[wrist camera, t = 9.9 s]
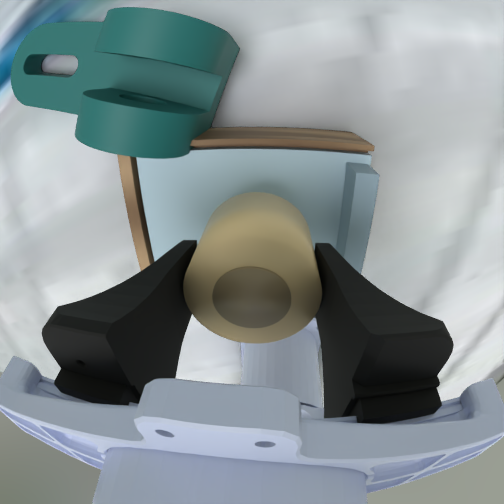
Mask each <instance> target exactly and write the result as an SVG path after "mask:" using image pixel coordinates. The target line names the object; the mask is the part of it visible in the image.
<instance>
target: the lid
mask: <svg viewBox="0 0 504 504" xmlns="http://www.w3.org/2000/svg"><path fill="white" fill-rule="evenodd" d="M371 157H372V156H371V155H370V154H369V153H365V152H355V151H345V150H332V149H318V148H299V147H263V146H238V147H202V148H192V149H191V150H190V152H189V154H187V155H185V156H182V157H178V158H169V159H152V158H139V157H136V158H137V166H138V173H139V180H140V186H141V193H142V199H143V205H144V210H145V216H146V221H147V227H148V232H149V237H150V242H151V247H152V252H153V256H154V261H156V260H157V259H159V258H160V257H161V256H163V255H164V254H165V253H166V252H168V251H169V250H170V249H172V248H173V247H174V246H175V245H177V244H178V243H179V242H181V241H182V240H197V245H198V243H199V241H200V238H201V236H202V234H203V231H204V229H205V227H206V225H207V222H208V220H209V218H210V216H211V215H212V213H213V212H214V211H215V209H216V208H217V207H218V206H219V205H221V204H222V203H223V202H224V201H226V200H228V199H229V198H232V197H234V196H236V195H239V194H243V193H249V192H264V193H269V194H274V195H276V196H279V197H281V198H283V199H285V200H287V201H289V202H290V203H291V204H293V205H294V206H295V207H296V208H297V209H298V210H299V211H300V212H301V213H302V215H303V216H304V218H305V220H306V222H307V224H308V227H309V231H310V235H311V239H312V244H313V248H314V250H315V243H330V244H331V245H332V246H333V247H334V248H335V249H336V250H337V251H338V252H339V254H340V255H341V256H342V257H343V258H344V259H345V260H346V261H347V262H348V263H349V264H350V265H351V266H352V267H353V268H354V269H355V270H357V271H358V272H359V273H360V274H361V271H362V267H363V262H364V258H365V253H366V249H367V244H368V239H369V234H370V229H371V224H372V218H373V213H374V207H375V201H376V195H377V188H378V182H379V174H378V173H377V172H376V171H375V170H373V169H372V168H371V167H370V165H371Z"/></svg>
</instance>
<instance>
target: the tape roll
mask: <svg viewBox="0 0 504 504" xmlns="http://www.w3.org/2000/svg"><path fill="white" fill-rule="evenodd" d="M183 291H184V297H185V301H186V303H187V306H188V308H189V309H190V311H191V313H192V314H193V315H194V317H195V318H196V319H197V320H198V321H199V322H200V323H201V324H202V325H203V326H205V327H206V328H207V329H209V330H210V331H212V332H213V333H215V334H217V335H219V336H221V337H224V338H227V339H230V340H233V341H237V342H242V343H255V344H260V343H269V342H275V341H279V340H282V339H285V338H288V337H290V336H292V335H294V334H296V333H297V332H299V331H300V330H302V329H303V328H304V327H306V326H307V325H308V324H309V323H310V322H311V320H312V319H313V318H314V316H315V315H316V313H317V311H318V309H319V307H320V303H321V299H322V286H321V281H320V276H319V271H318V267H317V262H316V257H315V253H314V248H313V244H312V239H311V235H310V231H309V227H308V224H307V222H306V220H305V218H304V216H303V215H302V213H301V212H300V211H299V210H298V209H297V208H296V207H295V206H294V205H293V204H291V203H290V202H289V201H287V200H285V199H283V198H281V197H279V196H276V195H274V194H269V193H264V192H249V193H243V194H239V195H236V196H234V197H232V198H229V199H228V200H226V201H224V202H223V203H222V204H221V205H219V206H218V207H217V208H216V209H215V211H214V212H213V213H212V215H211V216H210V218H209V220H208V222H207V225H206V227H205V229H204V231H203V234H202V236H201V238H200V241H199V243H198V245H197V247H196V250H195V252H194V254H193V257H192V259H191V262H190V264H189V266H188V269H187V271H186V274H185V277H184V283H183Z"/></svg>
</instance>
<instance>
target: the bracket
mask: <svg viewBox="0 0 504 504" xmlns="http://www.w3.org/2000/svg"><path fill="white" fill-rule="evenodd" d="M239 49H240V48H239V47H238V45H237V44H236V42H235V41H234V39H233V38H232V37H231V35H230V34H229V33H228V32H226V31H225V30H223V29H221V28H219V27H217V26H215V25H213V24H210V23H208V22H205V21H202V20H199V19H196V18H193V17H190V16H186V15H183V14H179V13H174V12H169V11H164V10H158V9H150V8H138V7H123V8H114V9H111V10H109V11H108V12H107V15H106V18H105V20H104V22H60V23H47V24H43V25H40V26H38V27H37V28H35V29H34V30H32V31H31V32H30V33H29V34H28V35H27V36H26V37H25V38H24V40H23V41H22V43H21V44H20V46H19V48H18V50H17V52H16V54H15V57H14V60H13V64H12V69H11V85H12V89H13V92H14V95H15V96H16V98H17V99H18V101H20V102H21V103H22V104H24V105H26V106H32V107H38V108H44V109H50V110H56V111H61V112H67V113H72V114H77V115H78V119H77V124H76V130H75V137H76V138H77V139H78V140H79V141H80V142H81V143H83V144H85V145H87V146H89V147H92V148H95V149H98V150H101V151H105V152H109V153H113V154H118V155H124V156H131V157H139V158H152V159H169V158H178V157H182V156H185V155H187V154H189V152H190V150H191V149H192V148H193V147H194V146H190V145H191V141H192V140H193V139H195V138H196V137H198V136H199V135H201V134H202V133H204V132H205V131H207V130H208V129H210V127H211V124H212V121H213V118H214V115H215V112H216V110H217V107H218V104H219V101H220V98H221V96H222V93H223V90H224V88H225V85H226V82H227V80H228V77H229V74H230V72H231V69H232V67H233V64H234V62H235V59H236V57H237V54H238V52H239ZM48 54H60V55H74V56H76V57H77V59H78V68H77V70H76V72H75V73H74V75H63V74H52V73H44V72H42V70H41V63H42V60H43V58H44V57H45V56H46V55H48Z"/></svg>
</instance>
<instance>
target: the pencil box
mask: <svg viewBox="0 0 504 504" xmlns="http://www.w3.org/2000/svg"><path fill="white" fill-rule="evenodd" d="M190 146H194V147H193V148H202V147H238V146H263V147H299V148H318V149H332V150H345V151H355V152H365V153H368V151H374V145H372V144H370V143H369V142H367V141H366V140H364V139H362V138H361V137H359V136H357V135H356V134H354V133H352V132H345V131H335V130H322V129H307V128H283V127H226V128H210V129H208V130H207V131H205V132H204V133H202V134H201V135H199V136H198V137H196V138H195V139H193V140H192V141H191V145H190ZM117 155H118V154H117ZM118 162H119V168H120V175H121V181H122V187H123V192H124V198H125V203H126V208H127V213H128V218H129V223H130V228H131V232H132V237H133V241H134V245H135V249H136V254H137V258H138V262H139V265H140V269H141V271H142V270H143V269H145V268H146V267H148V266H149V265H150V264H152V263H153V262H155V261H154V256H153V252H152V247H151V242H150V237H149V232H148V227H147V221H146V216H145V210H144V205H143V199H142V193H141V186H140V180H139V173H138V166H137V158H136V157H131V156H124V155H118Z"/></svg>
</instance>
